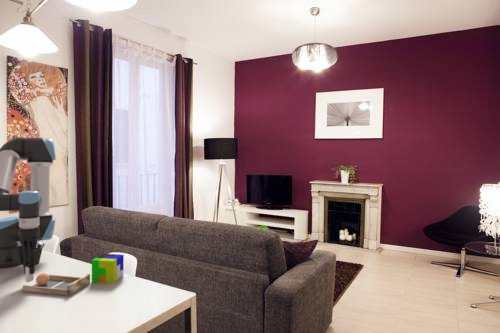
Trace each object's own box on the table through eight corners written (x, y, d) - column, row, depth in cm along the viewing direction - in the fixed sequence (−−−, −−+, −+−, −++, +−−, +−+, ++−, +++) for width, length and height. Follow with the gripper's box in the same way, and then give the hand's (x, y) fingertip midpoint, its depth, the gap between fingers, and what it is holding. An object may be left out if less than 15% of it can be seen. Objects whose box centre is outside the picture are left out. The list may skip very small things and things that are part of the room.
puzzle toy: (123, 275, 166) (123, 254, 166) (113, 283, 156) (113, 261, 156) (103, 274, 167) (103, 253, 167) (91, 282, 157) (91, 260, 157)
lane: (47, 279, 159) (47, 278, 159) (89, 283, 156) (89, 282, 156) (22, 291, 145) (22, 290, 145) (69, 296, 142) (69, 294, 142)
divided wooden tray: (47, 278, 159) (47, 270, 158) (89, 282, 156) (89, 274, 155) (22, 290, 145) (22, 281, 145) (69, 294, 142) (69, 286, 142)
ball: (41, 282, 154) (41, 271, 154) (52, 283, 153) (52, 271, 153) (33, 286, 149) (33, 275, 149) (43, 287, 148) (43, 275, 148)
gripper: (8, 228, 148) (8, 283, 149) (36, 229, 146) (36, 285, 147) (22, 224, 156) (22, 276, 157) (49, 226, 154) (49, 279, 155)
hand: (29, 281), depth 152 cm, fingers closed
